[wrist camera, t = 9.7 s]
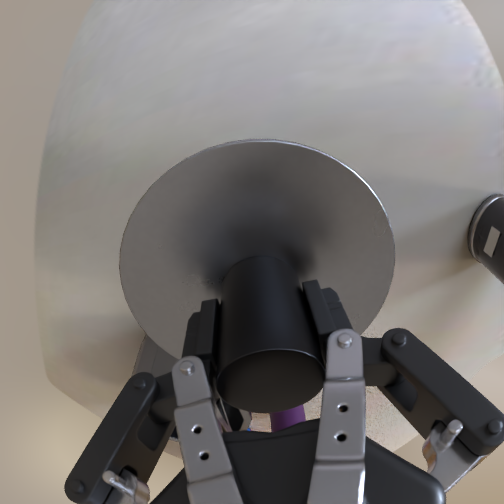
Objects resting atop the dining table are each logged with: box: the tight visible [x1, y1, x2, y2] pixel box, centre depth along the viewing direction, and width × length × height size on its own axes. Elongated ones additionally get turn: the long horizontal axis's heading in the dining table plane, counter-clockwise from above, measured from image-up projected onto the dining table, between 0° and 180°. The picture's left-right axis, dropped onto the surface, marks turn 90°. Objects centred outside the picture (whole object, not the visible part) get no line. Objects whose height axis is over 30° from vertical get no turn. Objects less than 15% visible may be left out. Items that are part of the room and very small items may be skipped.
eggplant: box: [270, 404, 306, 432], centre depth 37 cm, size 5×5×12 cm
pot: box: [131, 334, 252, 442], centre depth 32 cm, size 14×14×10 cm
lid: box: [119, 139, 395, 413], centre depth 13 cm, size 15×15×7 cm
